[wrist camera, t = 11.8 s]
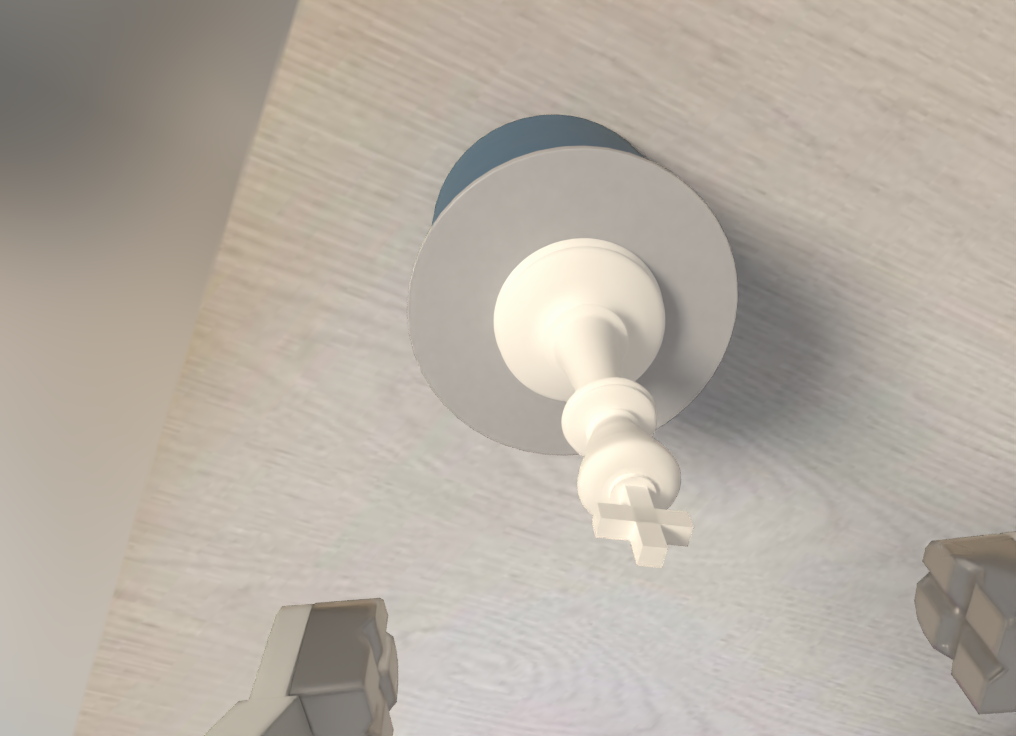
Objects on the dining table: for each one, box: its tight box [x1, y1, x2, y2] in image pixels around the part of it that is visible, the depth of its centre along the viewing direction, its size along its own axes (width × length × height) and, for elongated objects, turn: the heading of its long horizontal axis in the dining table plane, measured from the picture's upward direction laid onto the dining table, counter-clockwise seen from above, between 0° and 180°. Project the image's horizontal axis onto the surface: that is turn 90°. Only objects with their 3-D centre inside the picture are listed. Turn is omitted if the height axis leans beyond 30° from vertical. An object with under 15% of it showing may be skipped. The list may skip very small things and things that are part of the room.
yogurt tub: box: [407, 115, 738, 455], centre depth 25 cm, size 10×10×8 cm
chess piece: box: [494, 238, 694, 568], centre depth 17 cm, size 5×5×10 cm
